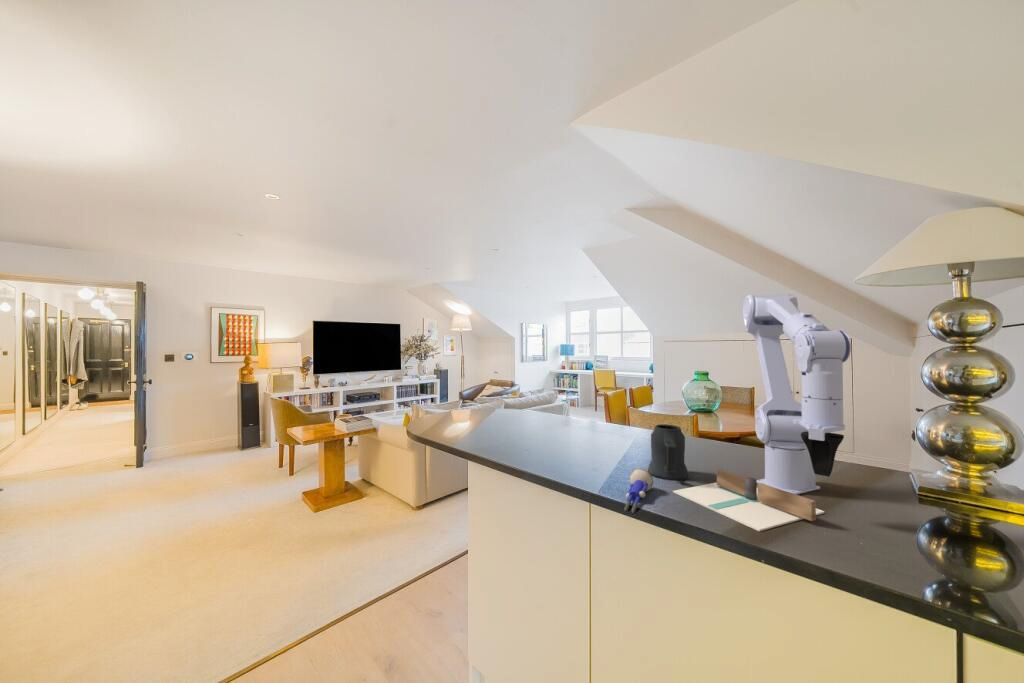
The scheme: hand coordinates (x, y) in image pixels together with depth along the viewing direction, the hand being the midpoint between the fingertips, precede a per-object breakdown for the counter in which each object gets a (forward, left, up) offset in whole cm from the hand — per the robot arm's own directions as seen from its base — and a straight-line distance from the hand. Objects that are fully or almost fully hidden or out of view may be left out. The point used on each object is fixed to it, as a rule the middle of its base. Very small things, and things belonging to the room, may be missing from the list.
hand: (822, 474), depth 67 cm
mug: (+8, -27, -8) cm, 29 cm away
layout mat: (+6, -10, -8) cm, 14 cm away
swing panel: (+4, -4, -7) cm, 9 cm away
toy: (+24, -19, -8) cm, 32 cm away
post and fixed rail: (+5, -13, -8) cm, 16 cm away
